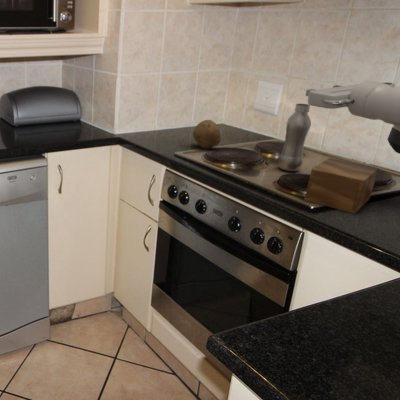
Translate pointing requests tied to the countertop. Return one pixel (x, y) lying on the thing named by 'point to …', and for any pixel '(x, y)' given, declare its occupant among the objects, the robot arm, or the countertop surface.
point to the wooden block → (341, 184)
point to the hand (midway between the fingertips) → (321, 90)
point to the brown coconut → (207, 134)
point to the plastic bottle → (295, 138)
